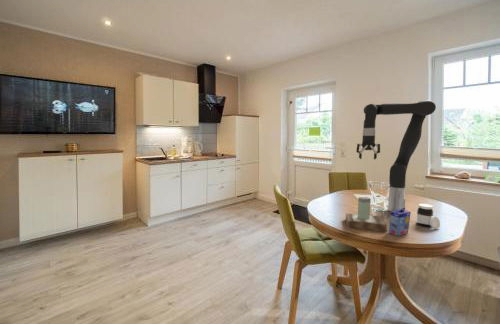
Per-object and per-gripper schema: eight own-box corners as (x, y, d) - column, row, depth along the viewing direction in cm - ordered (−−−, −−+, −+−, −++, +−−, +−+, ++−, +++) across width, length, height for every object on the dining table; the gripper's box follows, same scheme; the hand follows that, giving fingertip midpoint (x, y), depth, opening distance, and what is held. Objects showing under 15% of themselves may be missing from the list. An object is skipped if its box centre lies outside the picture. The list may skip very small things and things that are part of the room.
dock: (381, 222, 151) (381, 215, 151) (386, 231, 138) (387, 224, 138) (345, 219, 157) (346, 212, 156) (347, 227, 144) (348, 220, 143)
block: (365, 216, 150) (366, 197, 148) (369, 218, 146) (370, 198, 144) (357, 217, 149) (358, 197, 147) (361, 219, 145) (362, 199, 143)
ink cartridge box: (398, 236, 132) (400, 209, 130) (388, 232, 137) (389, 207, 135) (409, 233, 136) (411, 207, 134) (399, 229, 141) (401, 204, 139)
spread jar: (417, 220, 154) (418, 202, 153) (440, 224, 147) (442, 205, 146) (414, 226, 145) (416, 207, 144) (439, 231, 138) (441, 210, 137)
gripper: (358, 135, 165) (356, 159, 167) (381, 135, 161) (380, 160, 163) (356, 134, 172) (355, 158, 174) (379, 134, 168) (378, 158, 170)
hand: (367, 159), depth 168 cm, fingers open, 8 cm apart
